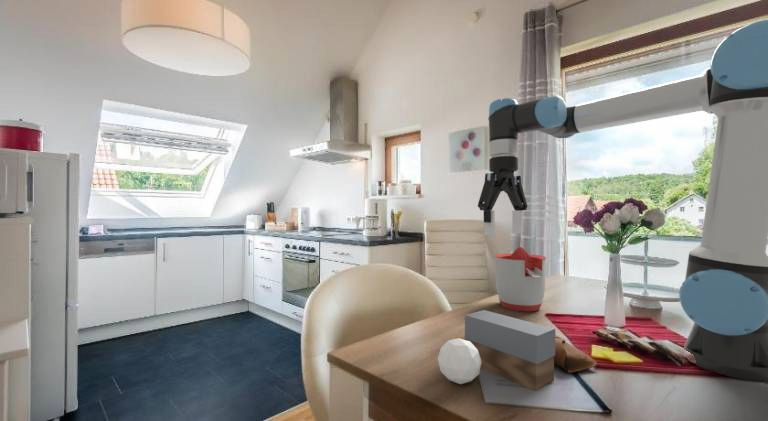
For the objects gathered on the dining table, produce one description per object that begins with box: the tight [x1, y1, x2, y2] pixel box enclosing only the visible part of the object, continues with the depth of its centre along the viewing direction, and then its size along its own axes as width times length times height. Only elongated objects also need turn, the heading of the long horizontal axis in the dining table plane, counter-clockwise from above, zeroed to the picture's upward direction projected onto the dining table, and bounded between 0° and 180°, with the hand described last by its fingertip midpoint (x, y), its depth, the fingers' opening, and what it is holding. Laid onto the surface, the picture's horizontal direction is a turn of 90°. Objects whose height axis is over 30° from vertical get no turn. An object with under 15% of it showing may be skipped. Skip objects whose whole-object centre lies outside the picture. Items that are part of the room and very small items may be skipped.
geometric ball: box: [437, 337, 482, 385], centre depth 67 cm, size 8×8×8 cm
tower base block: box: [463, 338, 555, 392], centre depth 72 cm, size 16×6×5 cm, turn 39°
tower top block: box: [464, 309, 556, 364], centre depth 72 cm, size 16×6×5 cm, turn 38°
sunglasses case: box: [554, 334, 598, 374], centre depth 80 cm, size 18×7×7 cm
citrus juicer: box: [495, 246, 547, 313], centre depth 118 cm, size 16×17×20 cm
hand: (504, 234), depth 100 cm, fingers open, 13 cm apart
